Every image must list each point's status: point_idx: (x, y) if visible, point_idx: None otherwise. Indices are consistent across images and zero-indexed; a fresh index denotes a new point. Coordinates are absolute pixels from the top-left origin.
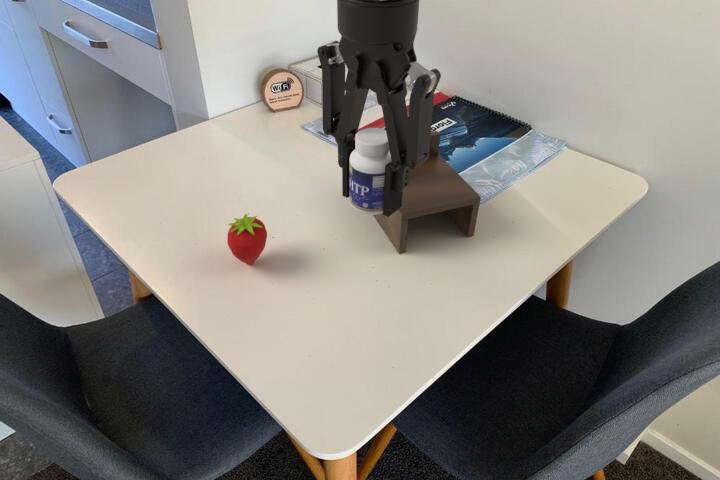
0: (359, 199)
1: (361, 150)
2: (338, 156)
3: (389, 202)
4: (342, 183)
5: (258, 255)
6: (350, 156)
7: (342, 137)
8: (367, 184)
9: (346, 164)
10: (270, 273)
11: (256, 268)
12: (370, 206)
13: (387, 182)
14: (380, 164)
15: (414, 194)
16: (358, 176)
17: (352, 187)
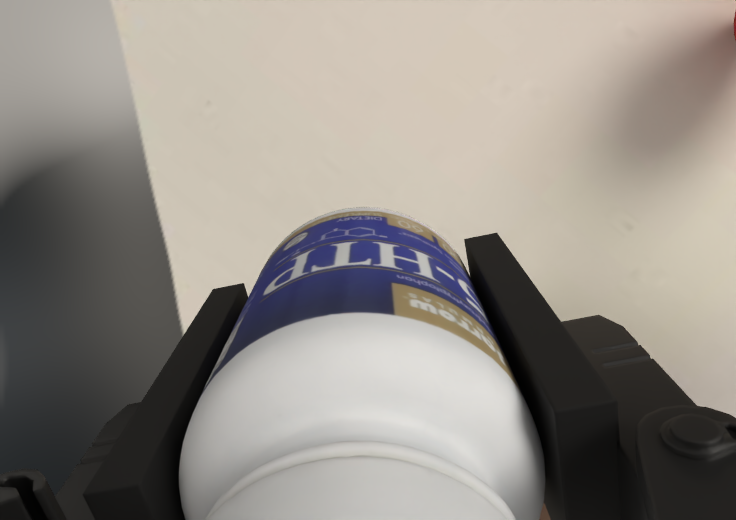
0: (325, 234)
1: (328, 468)
2: (639, 351)
3: (189, 332)
4: (515, 260)
5: (734, 29)
6: (483, 380)
7: (674, 482)
8: (264, 303)
9: (520, 332)
10: (668, 51)
11: (716, 29)
12: (274, 256)
13: (161, 398)
14: (193, 469)
15: (544, 509)
16: (322, 295)
17: (386, 248)
